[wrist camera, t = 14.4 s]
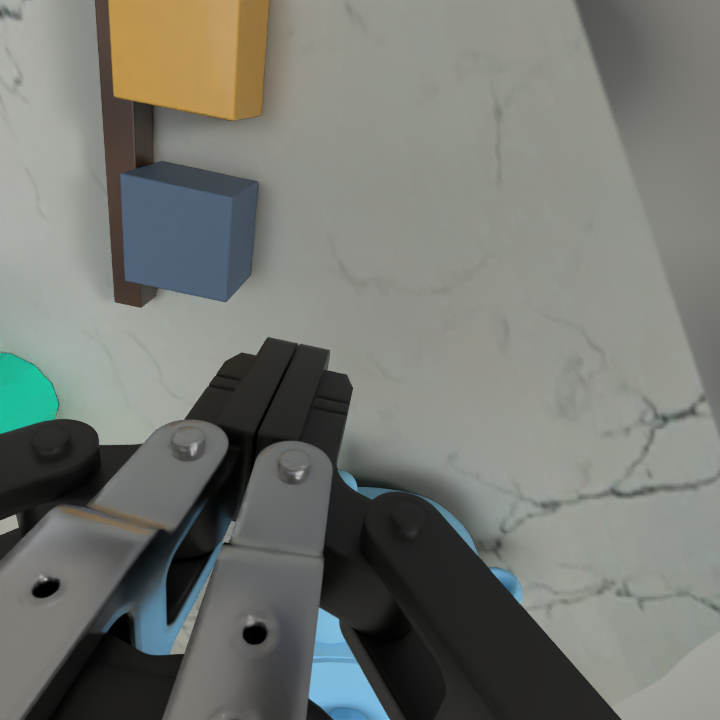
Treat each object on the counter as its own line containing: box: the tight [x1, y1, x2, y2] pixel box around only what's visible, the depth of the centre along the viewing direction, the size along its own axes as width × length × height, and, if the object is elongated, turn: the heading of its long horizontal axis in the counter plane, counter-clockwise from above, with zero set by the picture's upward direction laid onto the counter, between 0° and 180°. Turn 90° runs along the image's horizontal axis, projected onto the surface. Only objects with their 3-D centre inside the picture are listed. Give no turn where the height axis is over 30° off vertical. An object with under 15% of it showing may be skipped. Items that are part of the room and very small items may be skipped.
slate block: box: [120, 161, 258, 302], centre depth 25 cm, size 5×5×4 cm
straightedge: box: [95, 0, 156, 308], centre depth 23 cm, size 20×2×2 cm, turn 169°
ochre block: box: [108, 0, 269, 121], centre depth 21 cm, size 5×5×4 cm
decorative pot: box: [309, 470, 523, 720], centre depth 31 cm, size 16×16×14 cm
